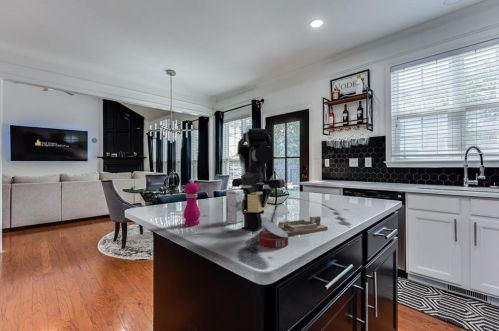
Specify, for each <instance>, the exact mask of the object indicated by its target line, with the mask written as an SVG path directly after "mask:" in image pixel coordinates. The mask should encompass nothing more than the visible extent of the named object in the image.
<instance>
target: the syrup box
mask: <svg viewBox="0 0 499 331" xmlns="http://www.w3.org/2000/svg"><path fill="white" fill-rule="evenodd" d="M225 194H226V195H225V200H226V201H225V202H226V203H225V205H226V206H225V211H226V212H225V217H226V218H225V219H226V220H225V222H226V223H229V224H240V223H242V222H244V215H243V214H242V211H241V206H242V200H243V198H244V190H243V189H238V188H237V189H229V190H226V191H225Z"/></svg>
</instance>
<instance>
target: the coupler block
mask: <svg viewBox="0 0 499 331" xmlns="http://www.w3.org/2000/svg"><path fill="white" fill-rule="evenodd" d="M262 195H263V193H262V191H261V192H254V193H251V194H248V212H260V211H263V210H264V211H265V210H267V209H268V201H267V202H266V205H265V207H264V208H263V207H262Z"/></svg>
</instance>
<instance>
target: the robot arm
mask: <svg viewBox="0 0 499 331" xmlns="http://www.w3.org/2000/svg"><path fill="white" fill-rule="evenodd" d="M245 143H246V144H245ZM271 146H272V140H271V136H270V135H269V132H268V131H267V129H266V128H248V130H246V132H243V134H242V138H240V140H238V142H237V149H236V150H237V155H238V157H239V161H240V162H241V163H242V164H243V171H244V172H243V174H242V175H241V176H240V178H239V177H238V178H233V179H232V180H231V187H233V188H235V187H237V188H239V187H240V190H243V192H244V193H243V200H242V206H241V211H242V214H243V226H242V227H241V229H242V230H247V231H252V232H256V231H258V230H260V229H262V228H264V225H263V223H262V218H263V217H262V216H261V215H264V213H265V210H263V211H260V212H248V194H251V193H254V192H262V193H263V195H262V207H263V208H264V207H265V205H266V202H267V203H268V200H269V197H270V195H271V193H272V191H273V190H275V189H283V188H285V187H286V182H285V180H284V179H283V178H272V179H269V180H268V177H267V174H266V170H267V169H268V166H267V165H266V164H268V163H269V162H270V161H271V160H272V158H273V151H272V150H271V148H270V147H271ZM257 186H259V187H262V186H263V188H261V190H260V189H258V188H257Z"/></svg>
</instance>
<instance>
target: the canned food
mask: <svg viewBox="0 0 499 331" xmlns="http://www.w3.org/2000/svg"><path fill="white" fill-rule="evenodd" d="M261 218H262V226H263V227H264V228H265V229H266V231H265V230H264V231H261V232H260V233H258V245H259V246H260V247H262V248H265V249H274V250H275V249H276V250H278V249H284V248H286V247H288V246H289V236H288V234H287V233H286V232H285V231H284V230H282V229H281V228H279V227H278V225H276V224H275V223H274V222H272V221H270V219H268V218H267V217H266V216H265V217H261Z"/></svg>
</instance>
